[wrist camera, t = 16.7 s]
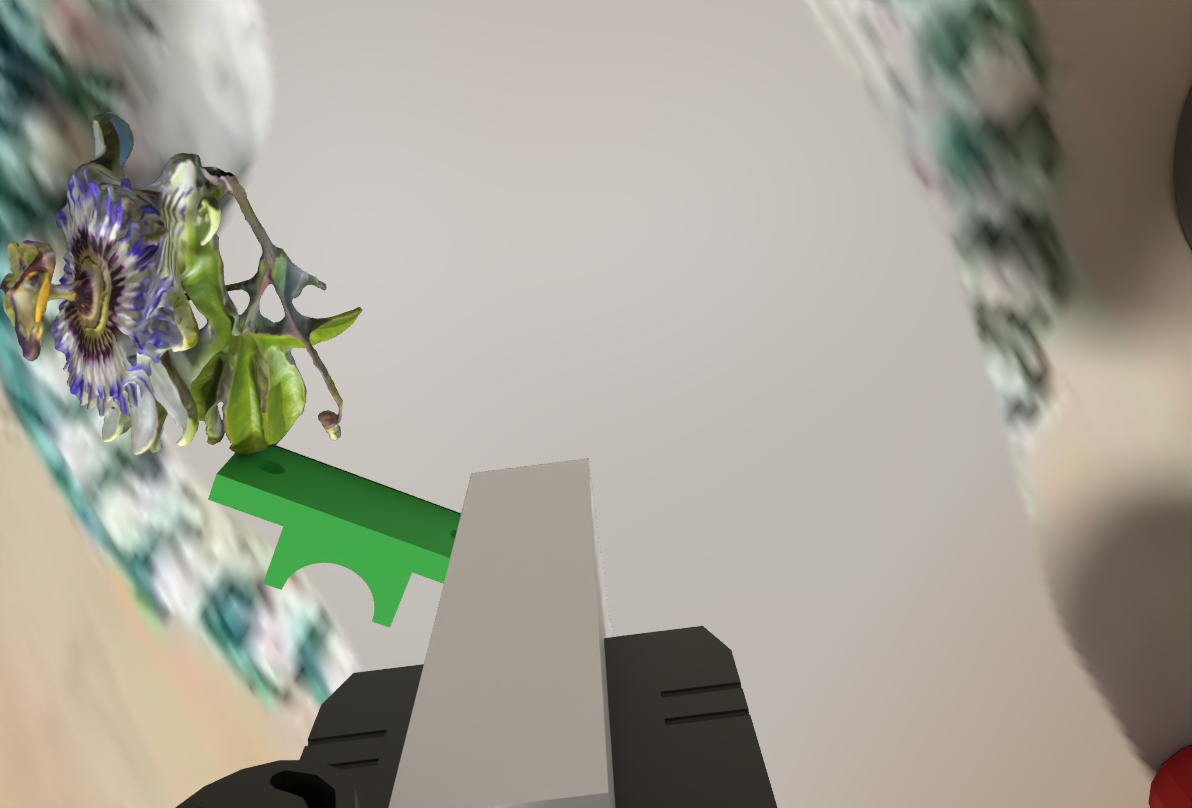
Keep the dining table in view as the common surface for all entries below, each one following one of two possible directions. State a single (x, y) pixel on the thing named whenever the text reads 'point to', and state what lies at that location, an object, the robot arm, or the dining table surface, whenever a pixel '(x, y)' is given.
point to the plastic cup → (1173, 782)
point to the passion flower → (167, 307)
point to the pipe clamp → (340, 522)
